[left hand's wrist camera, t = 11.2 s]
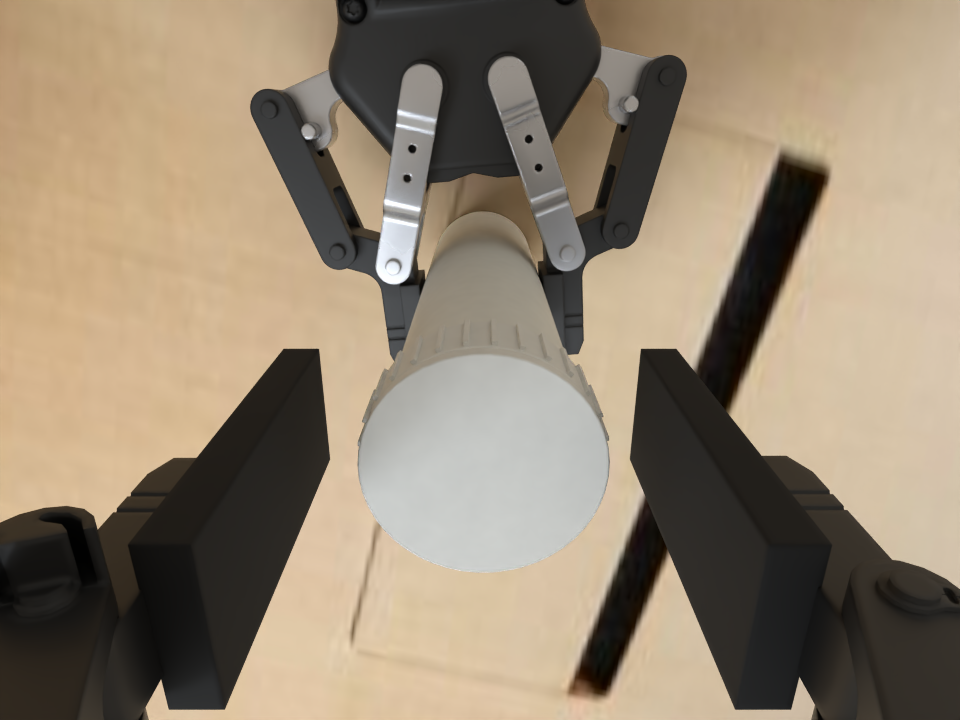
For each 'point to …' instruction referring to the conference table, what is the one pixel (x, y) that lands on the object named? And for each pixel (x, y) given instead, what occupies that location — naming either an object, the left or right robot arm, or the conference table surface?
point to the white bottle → (482, 280)
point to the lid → (483, 448)
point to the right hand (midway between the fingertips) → (489, 365)
